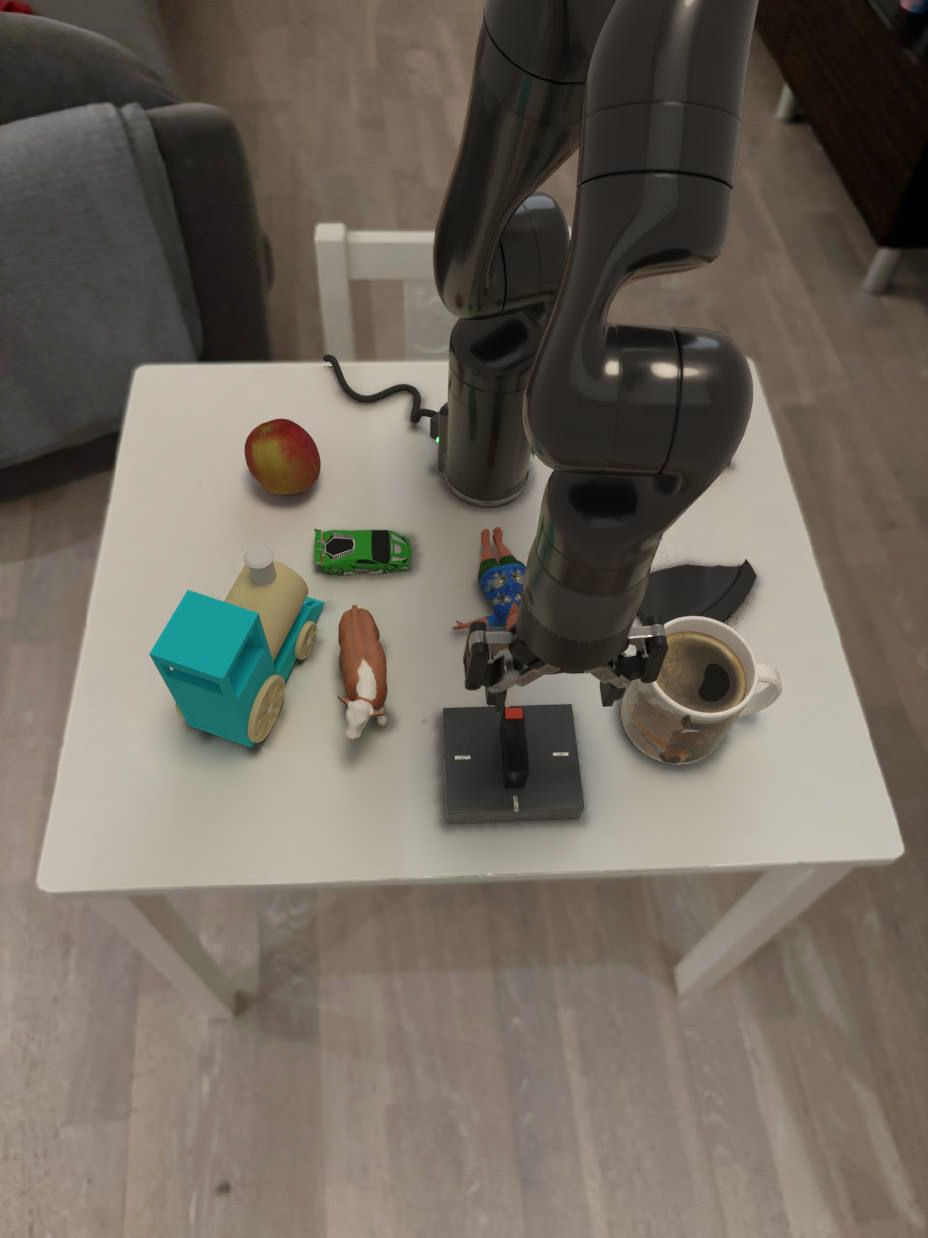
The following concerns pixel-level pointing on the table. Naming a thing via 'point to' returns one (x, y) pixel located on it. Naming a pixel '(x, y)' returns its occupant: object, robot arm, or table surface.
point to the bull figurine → (362, 670)
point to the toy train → (238, 649)
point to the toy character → (499, 582)
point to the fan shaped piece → (697, 591)
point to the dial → (514, 747)
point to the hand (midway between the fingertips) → (551, 698)
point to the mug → (696, 692)
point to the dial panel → (480, 768)
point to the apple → (282, 457)
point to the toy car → (361, 551)
